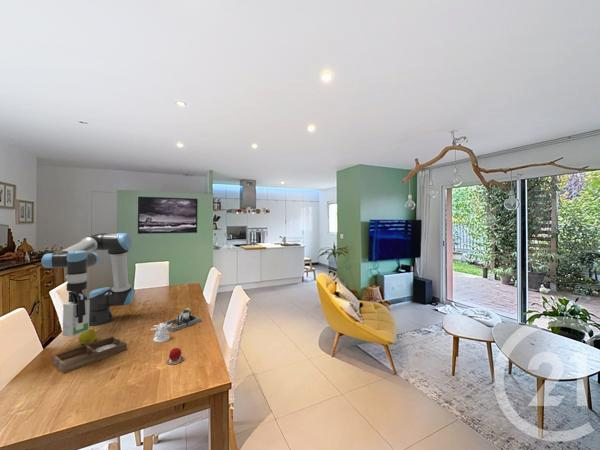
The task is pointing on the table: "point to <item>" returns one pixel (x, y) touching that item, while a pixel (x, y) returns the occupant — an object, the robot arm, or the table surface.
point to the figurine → (161, 332)
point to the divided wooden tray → (87, 354)
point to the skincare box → (74, 319)
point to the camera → (184, 316)
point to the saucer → (104, 347)
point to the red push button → (175, 356)
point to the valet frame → (172, 329)
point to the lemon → (87, 337)
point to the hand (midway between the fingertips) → (76, 327)
